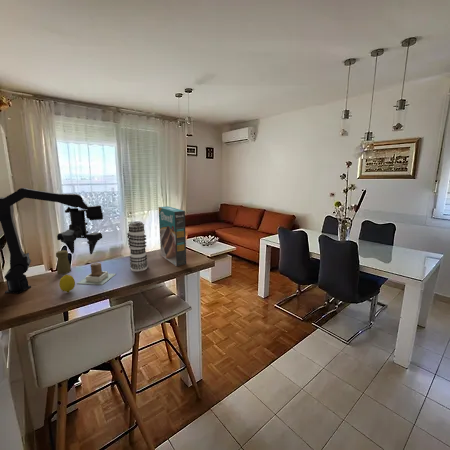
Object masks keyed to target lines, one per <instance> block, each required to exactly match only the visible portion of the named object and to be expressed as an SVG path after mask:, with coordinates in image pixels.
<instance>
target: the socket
mask: <svg viewBox="0 0 450 450" xmlns="http://www.w3.org/2000/svg"><path fill="white" fill-rule="evenodd" d="M116 275H117V274H116V273H109V272H108V271H106V270H105V271H104V270H102V275H101V276H100V277H92V273H91V272H90V273H89V274H88V275H86V276H85V277H84V278H83V279H81V280H80V281H78V282H76V284H77V285H91V286H92V285H94V286H103V285H104V284H105V283H107V282H108V281H109V280H111V279H112V278H113V277H114V276H116Z"/></svg>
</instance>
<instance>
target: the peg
mask: <svg viewBox="0 0 450 450" xmlns="http://www.w3.org/2000/svg"><path fill="white" fill-rule="evenodd" d="M90 270H91V272H90V274H91V273H92V277H100V276H101V275H102V271H103V270H102V263H101V262H94V263H91V264H90Z"/></svg>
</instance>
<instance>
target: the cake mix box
mask: <svg viewBox="0 0 450 450" xmlns="http://www.w3.org/2000/svg"><path fill="white" fill-rule="evenodd" d="M158 225H159V227H158V228H159V242H160V243H159V246H160V249H159V250H160V256H161V257H162V258H164V259H165V260H166V261H168V262H169V263H171V264H172V265H174V266H175V267H179V266H184V265H187V242H186V241H187V240H186V239H187V237H186V232H187V231H186V211H185V210H183V209H181V208H176V207H172V206H169V205H167V206H158Z"/></svg>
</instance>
